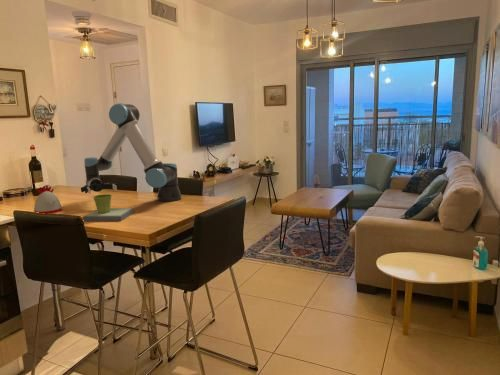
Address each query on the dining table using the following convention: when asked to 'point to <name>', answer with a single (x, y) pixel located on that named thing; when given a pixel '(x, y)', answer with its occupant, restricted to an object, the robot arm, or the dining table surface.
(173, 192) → the robot arm
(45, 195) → the grey dome
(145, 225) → the dining table surface
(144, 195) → the dining table surface
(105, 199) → the plant pot
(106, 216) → the stand
